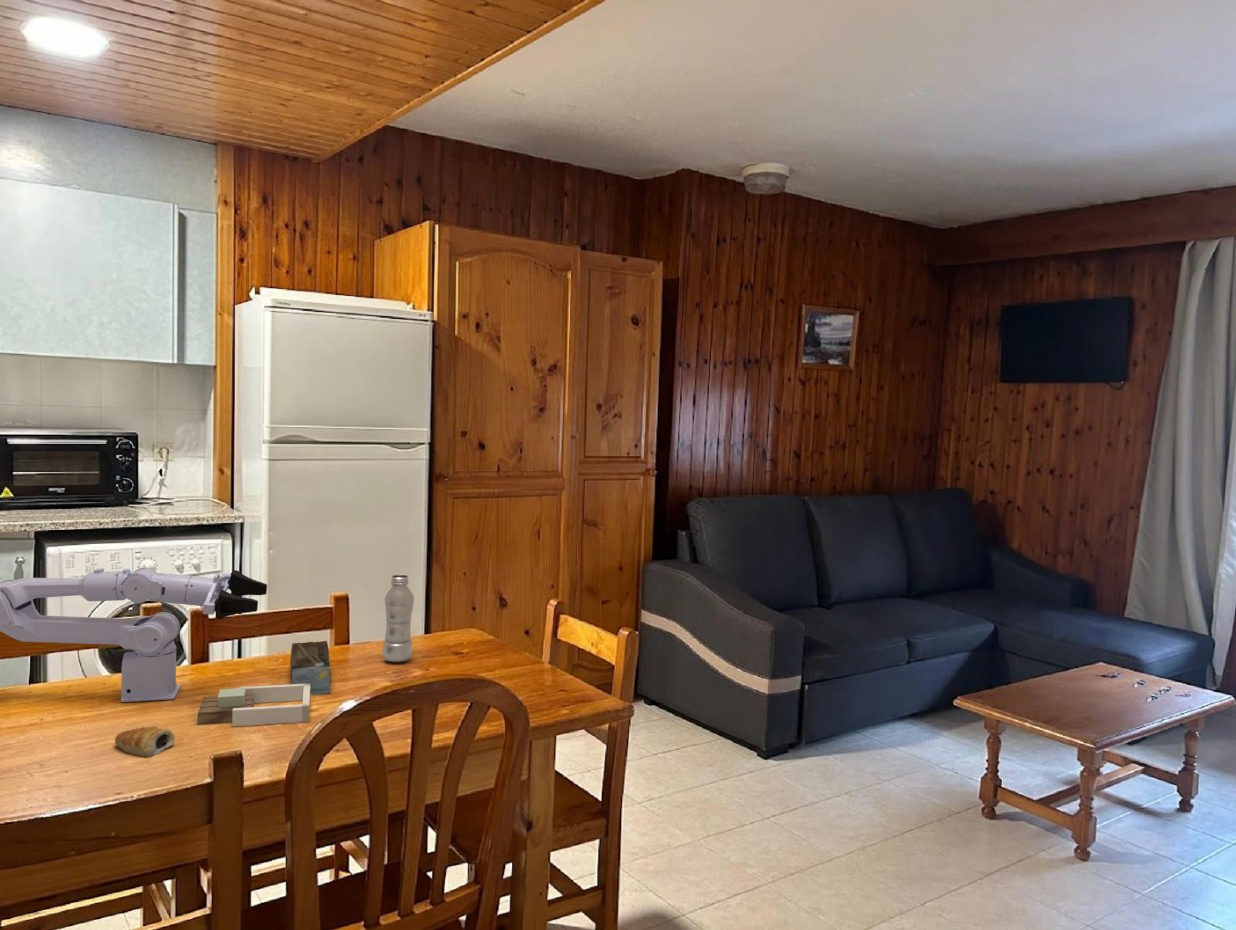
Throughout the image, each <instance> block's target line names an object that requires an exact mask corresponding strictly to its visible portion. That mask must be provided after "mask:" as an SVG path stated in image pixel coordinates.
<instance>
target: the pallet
mask: <svg viewBox="0 0 1236 930" xmlns="http://www.w3.org/2000/svg"><path fill="white" fill-rule="evenodd" d="M248 707H255V703H254V697H253V695H245V703H244V706H236V707H222V708H218V696H204V697H203V699H202V702H201V704H200V707H199V710H198V712H197V719H196V726H200V725H201V726H202V725H203V726H204V725H216V724H230V723H232V713H233V708H248Z"/></svg>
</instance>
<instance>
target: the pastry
mask: <svg viewBox="0 0 1236 930" xmlns="http://www.w3.org/2000/svg"><path fill="white" fill-rule="evenodd" d="M175 739H176V738H175V734H174V733H173V731H172V730H170V729H169V728H167V729H166V728H165V729H164V728H159V727H157V726H147V727H144V726H143V727H140V728H134V729H131V730H125V731H122V732H120V733H118V734H116V736H115V739H114V743H115V744H116V745H117V748H119V749H121V748H122V750H123V752H125V753H126V752H127V753H126V754H131V755H135V754H136V755H135V756H138V755H141V756H140V757H145V756H147V758H149V757H153V756H156V755H159V754H160V753H162V752H163V751H164V750H166V749H168V748H170V747H172V746H173V745H174V743H175ZM152 755H153V756H152ZM148 756H149V757H148Z"/></svg>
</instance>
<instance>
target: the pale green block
mask: <svg viewBox="0 0 1236 930" xmlns="http://www.w3.org/2000/svg"><path fill="white" fill-rule="evenodd" d="M245 690H246V688H239V687H237V688H223V689H219V692H218V696H217V697H218V708H222V707H236V706H244V703H245Z"/></svg>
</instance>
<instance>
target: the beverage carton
mask: <svg viewBox="0 0 1236 930" xmlns="http://www.w3.org/2000/svg"><path fill="white" fill-rule="evenodd" d="M290 650H291V651H290V659H289V660H290V661H289V662H290V665H289V666H290V667H289V668H290V669H289V670H290V671H289V672H290V684H309V683H310V696H311V695H315V696H316V695H327V694H330V693H331V660H330V651H329V644H328V641H327V640H322V641H307V642H296V643H295V642H293V643H292V644H291V649H290Z"/></svg>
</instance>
